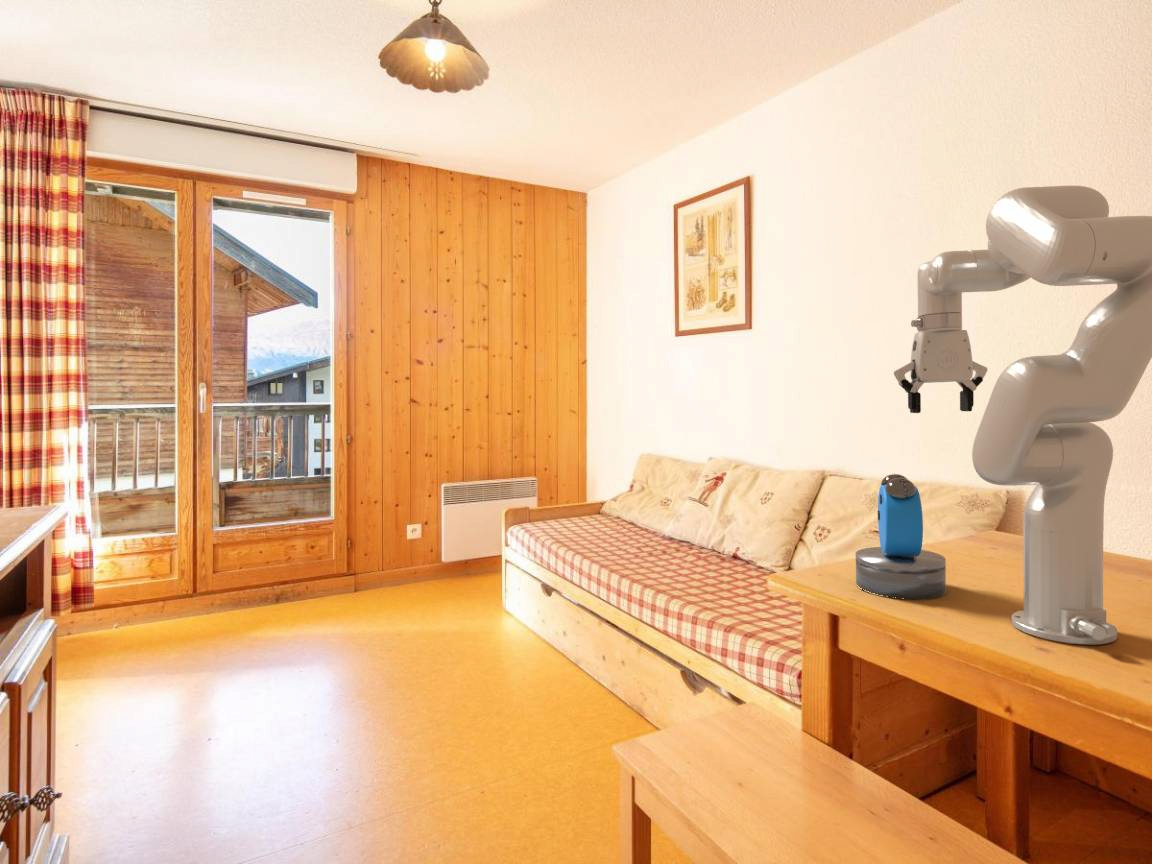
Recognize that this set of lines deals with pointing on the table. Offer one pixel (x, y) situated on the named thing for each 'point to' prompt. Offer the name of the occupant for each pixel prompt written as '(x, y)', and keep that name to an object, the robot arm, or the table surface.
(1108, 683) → the table surface
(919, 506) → the alarm clock
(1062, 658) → the table surface
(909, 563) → the round tin
